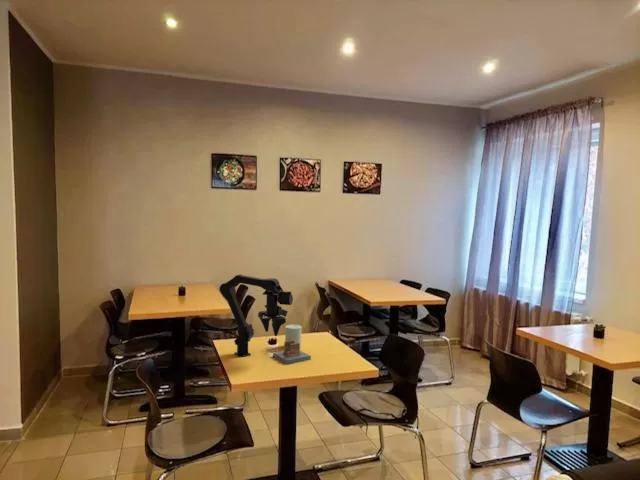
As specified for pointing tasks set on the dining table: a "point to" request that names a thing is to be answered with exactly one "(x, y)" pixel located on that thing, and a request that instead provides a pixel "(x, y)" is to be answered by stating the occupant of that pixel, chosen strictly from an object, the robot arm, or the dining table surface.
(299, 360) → the slab
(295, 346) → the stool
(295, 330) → the can
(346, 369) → the dining table surface
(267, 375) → the dining table surface
